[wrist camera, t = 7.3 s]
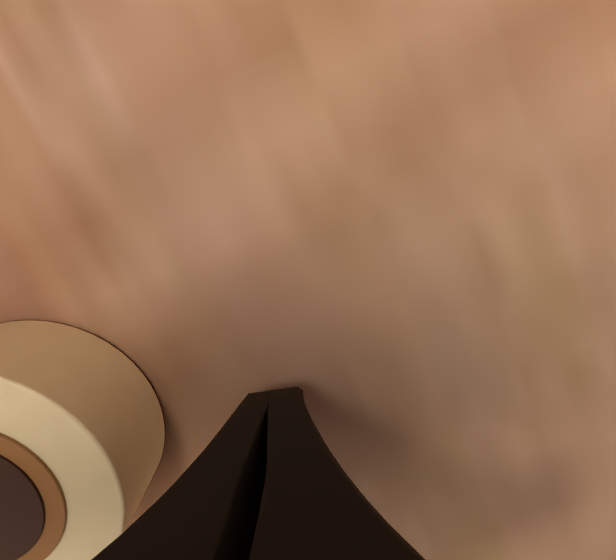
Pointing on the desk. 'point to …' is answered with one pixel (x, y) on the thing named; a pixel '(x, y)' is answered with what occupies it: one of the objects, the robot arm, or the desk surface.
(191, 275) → the desk surface
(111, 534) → the tape roll
